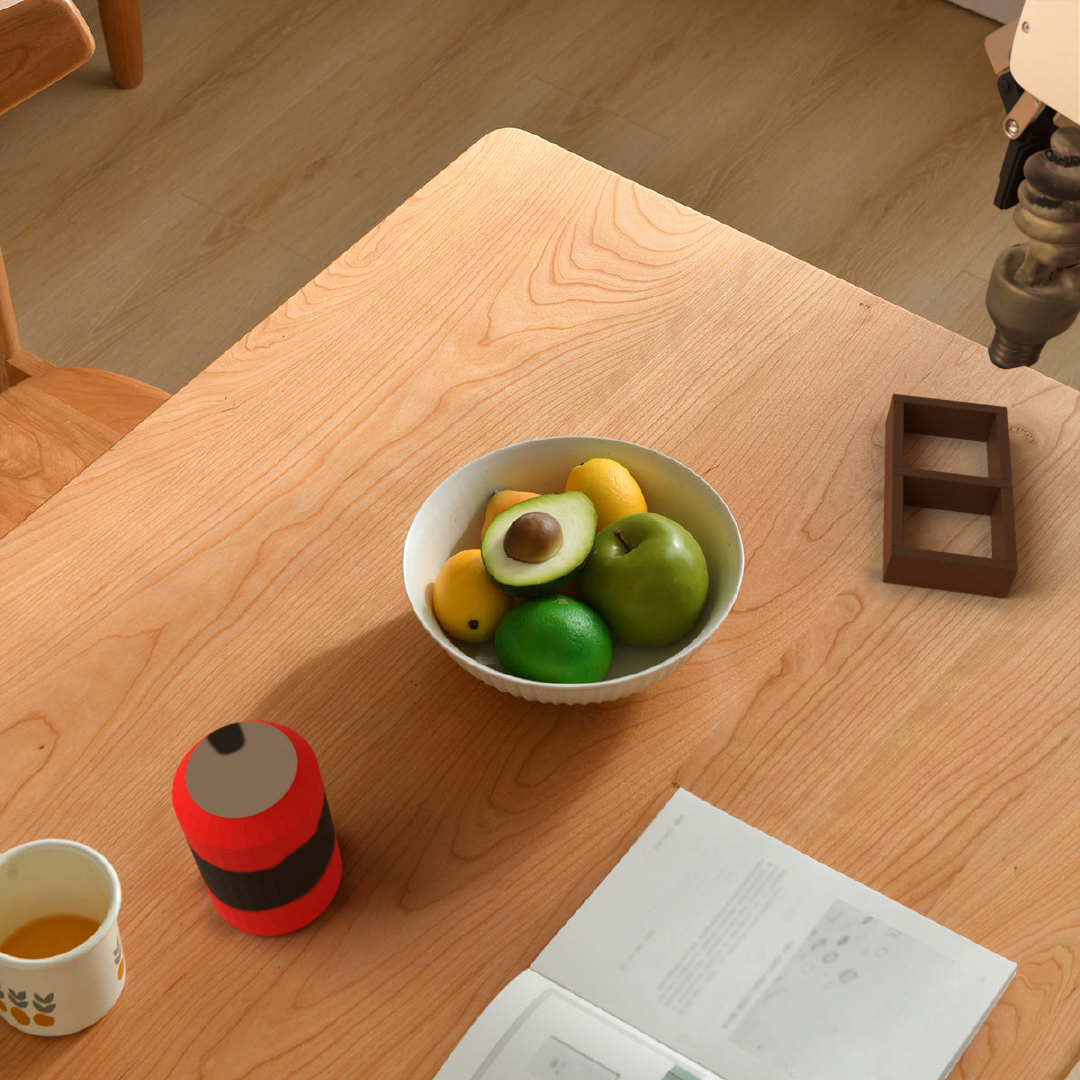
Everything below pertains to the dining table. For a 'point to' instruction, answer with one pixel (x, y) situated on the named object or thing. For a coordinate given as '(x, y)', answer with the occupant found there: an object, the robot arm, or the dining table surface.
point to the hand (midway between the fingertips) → (1060, 226)
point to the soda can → (259, 826)
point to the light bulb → (1039, 257)
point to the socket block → (949, 496)
